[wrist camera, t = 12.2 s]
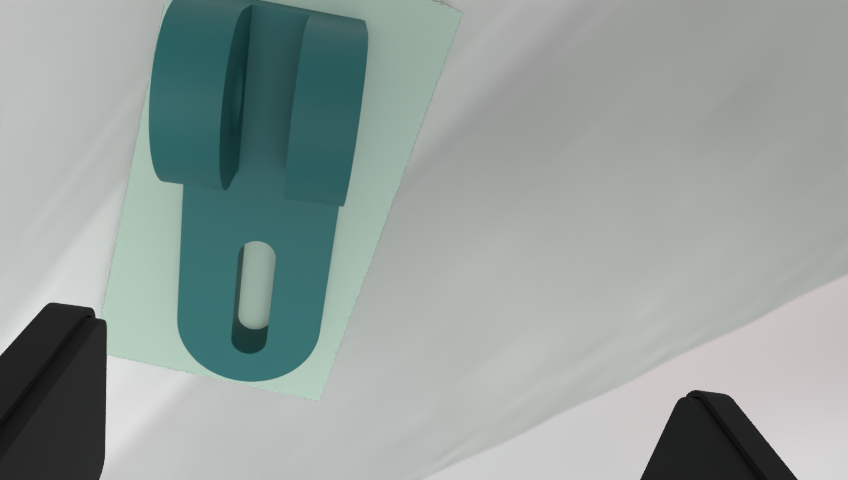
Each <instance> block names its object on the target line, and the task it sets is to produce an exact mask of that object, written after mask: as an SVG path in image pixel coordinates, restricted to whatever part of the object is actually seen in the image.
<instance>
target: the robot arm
mask: <svg viewBox="0 0 848 480" xmlns="http://www.w3.org/2000/svg"><path fill="white" fill-rule="evenodd" d="M106 364H107V323H106V321H105V320H104V319H97V318H95V312H94V310H93V309H92V308H90V307H82V306H75V305H68V304H60V303H49V304H47V305H46V306H45V307H44V308H43V309H42V310H41V311H40V312H39V314H38V315H37V316H36V317H35V318H34V319H33V320H32V321H31V322H30V324H29V325H28V326H27V327H26V328H25V329H24V330H23V331H22V332H21V334H20V335H19V336H18V337H17V338H16V339H15V340H14V341H13V342H12V344H11V345H10V346H9V347H8V348H7V349H6V350H5V351H4V352H3V354H2V355H1V356H0V480H99V478H100V476H101V473H102V469H103V465H104V460H105V423H106ZM640 480H797V478H796V477H795V476H794V475H793V473H792V472H791V471H790V470H789V468H788V467H787V466H786V465H785V463H784V462H783V461H782V460H781V458H780V457H779V456H778V455H777V453H776V452H775V451H774V450H773V448H772V447H771V446H770V445H769V443H768V442H767V441H766V440H765V439H764V437H763V436H762V435H761V434H760V432H759V431H758V430H757V429H756V427H755V426H754V425H753V424H752V422H751V421H750V420H749V419H748V418H747V416H746V415H745V414H744V412H743V411H742V410H741V409H740V407H739V406H738V405H737V404H736V402H735V401H734V400H733V399H732V398H731V397H730V396H728V395H726V394H721V393H714V392H706V391H699V390H694V391H691V392H690V393H688V394H687V396H686V397H683V398H681V399H679V400H678V402H677V403H676V405H675V407H674V409H673V411H672V413H671V416H670V418H669V420H668V422H667V424H666V426H665V429H664V430H663V433H662V435H661V437H660V439H659V441H658V443H657V445H656V448H655V450H654V452H653V454H652V456H651V458H650V460H649V462H648V465H647V467H646V469H645V471H644V473H643V475H642V478H641V479H640Z"/></svg>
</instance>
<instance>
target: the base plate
mask: <svg viewBox="0 0 848 480" xmlns="http://www.w3.org/2000/svg"><path fill="white" fill-rule="evenodd" d="M172 1H173V0H165V3H164V8H163V13H162V17H161V22H160V27H159V32H160V28H161V25H162V22H163V19H164V16H165V14H166V11H167V9H168V7H169V5H170V4H171V2H172ZM263 1H268V2H273V3H278V4H283V5H288V6H293V7H299V8H304V9H309V10H314V11H319V12H324V13H330V14H335V15H340V16H345V17H350V18H355V19H360V20H365V22H366V26H367V30H368V53H367V64H366V73H365V82H364V90H363V98H362V106H361V113H360V120H359V127H358V134H357V141H356V147H355V153H354V160H353V165H352V171H351V177H350V182H349V187H348V192H347V197H346V201H345V204H344V206H343V207H341V206H339V210H338V217H337V224H336V230H335V237H334V243H333V250H332V257H331V263H330V270H329V276H328V283H327V290H326V296H325V303H324V309H323V316H322V323H321V329H320V335H319V339H318V342H317V344H316V346H315V348H314V350H313V352H312V353H311V355H310V356H309V357H308V358H307V360H306V361H305V362H304V363H303V364H301V365H300V366H299V367H298V368H296V369H295V370H293V371H291V372H290V373H288V374H286V375H284V376H281V377H278V378H275V379H271V380H266V381H258V382H246V381H238V380H232V379H229V378H225V377H222V376H220V375H217V374H215V373H213V372H211V371H210V370H208V369H206V368H205V367H203V366H202V365H201V364H199V363H198V362H197V361H196V360H195V359H194V358H193V357H192V356H191V355H190V353H189V352H188V351H187V349H186V348H185V346H184V344H183V342H182V340H181V338H180V335H179V331H178V325H177V309H178V287H179V265H180V244H181V222H182V200H183V184H177V183H169V182H163V181H160V180H159V179H158V177H157V175H156V173H155V171H154V167H153V164H152V159H151V152H150V143H149V96H150V84H151V75H152V67H153V62H152V67H151V72H150V77H149V82H148V87H147V92H146V97H145V101H144V106H143V111H142V116H141V121H140V126H139V131H138V136H137V141H136V146H135V151H134V156H133V161H132V166H131V171H130V176H129V181H128V185H127V190H126V195H125V200H124V205H123V210H122V215H121V220H120V225H119V230H118V235H117V240H116V245H115V250H114V255H113V260H112V264H111V269H110V274H109V279H108V284H107V289H106V294H105V299H104V304H103V309H102V314H101V319H104V320H105V321H106V323H107V355H110V356H114V357H119V358H124V359H128V360H133V361H137V362H142V363H146V364H151V365H156V366H160V367H165V368H169V369H174V370H179V371H183V372H188V373H192V374H197V375H201V376H206V377H211V378H215V379H220V380H224V381H229V382H233V383H238V384H243V385H247V386H252V387H256V388H261V389H265V390H270V391H275V392H279V393H284V394H288V395H293V396H297V397H302V398H307V399H311V400H316V401H319V399H320V396H321V394H322V391H323V388H324V385H325V383H326V380H327V377H328V375H329V372H330V369H331V367H332V364H333V361H334V359H335V356H336V353H337V351H338V348H339V345H340V342H341V340H342V337H343V334H344V332H345V329H346V326H347V324H348V321H349V318H350V316H351V313H352V310H353V308H354V305H355V302H356V300H357V297H358V294H359V291H360V289H361V286H362V283H363V281H364V278H365V275H366V273H367V270H368V267H369V265H370V262H371V259H372V257H373V254H374V251H375V248H376V246H377V243H378V240H379V238H380V235H381V232H382V230H383V227H384V224H385V222H386V219H387V216H388V214H389V211H390V208H391V206H392V203H393V200H394V197H395V195H396V192H397V189H398V187H399V184H400V181H401V179H402V176H403V173H404V171H405V168H406V165H407V163H408V160H409V157H410V154H411V152H412V149H413V146H414V144H415V141H416V138H417V136H418V133H419V130H420V128H421V125H422V122H423V120H424V117H425V114H426V111H427V109H428V106H429V103H430V101H431V98H432V95H433V93H434V90H435V87H436V85H437V82H438V79H439V77H440V74H441V71H442V69H443V66H444V63H445V60H446V58H447V55H448V52H449V50H450V47H451V44H452V42H453V39H454V36H455V34H456V31H457V28H458V26H459V23H460V20H461V17H462V15H463V13H462V12H460V11H458V10H456V9H454V8H452V7H450V6H448V5H445V4H443V3H440V2H438V1H435V0H263ZM159 32H158V36H159ZM157 40H158V37H157ZM156 44H157V42H156ZM155 49H156V47H155ZM154 55H155V52H154ZM153 60H154V57H153ZM275 262H276V255H275V252H274V250H273V249H272V248H271V247H270V246H269V245H268V244H266V243H264V242H260V241H252V242H249V243H246V244H245V245H244V256H243V267H242V278H241V289H240V300H239V311H238V317H239V320H240V322H241V323H242V324H243V325H244V326H245V327H247V328H250V329H261V328H264V327H266V326H267V325H268V324H269V315H270V306H271V298H272V289H273V280H274V271H275Z"/></svg>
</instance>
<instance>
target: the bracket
mask: <svg viewBox="0 0 848 480" xmlns="http://www.w3.org/2000/svg"><path fill="white" fill-rule="evenodd" d="M367 53H368V30H367V26H366V22H365V20H360V19H355V18H350V17H345V16H340V15H335V14H330V13H324V12H319V11H314V10H309V9H304V8H299V7H293V6H288V5H283V4H278V3H273V2H268V1H263V0H173V1H172V2H171V4H170V5H169V7H168V9H167V11H166V14H165V16H164V19H163V22H162V25H161V28H160V32H159V36H158V40H157V44H156V49H155V55H154V60H153V67H152V75H151V84H150V96H149V143H150V152H151V159H152V164H153V167H154V171H155V173H156V175H157V177H158V179H159V180H160V181H163V182H169V183H177V184H183V200H182V222H181V244H180V265H179V287H178V309H177V325H178V331H179V335H180V338H181V340H182V342H183V344H184V346H185V348H186V349H187V351H188V352H189V353H190V355H191V356H192V357H193V358H194V359H195V360H196V361H197V362H198V363H199V364H201V365H202V366H203V367H205V368H206V369H208V370H210V371H211V372H213V373H215V374H217V375H220V376H222V377H225V378H229V379H232V380H238V381H246V382H258V381H266V380H271V379H275V378H278V377H281V376H284V375H286V374H288V373H290V372H291V371H293V370H295V369H296V368H298V367H299V366H300V365H301V364H303V363H304V362H305V361H306V360H307V358H308V357H309V356H310V355H311V353H312V352H313V350H314V348H315V346H316V344H317V342H318V339H319V335H320V329H321V323H322V316H323V309H324V303H325V296H326V290H327V283H328V276H329V270H330V263H331V257H332V250H333V243H334V237H335V230H336V224H337V217H338V210H339V206H341V207H343V206H344V204H345V201H346V197H347V192H348V187H349V182H350V177H351V171H352V165H353V160H354V153H355V147H356V141H357V134H358V127H359V120H360V113H361V106H362V98H363V90H364V82H365V73H366V64H367ZM252 241H260V242H264V243H266V244H268V245H269V246H270V247H271V248H272V249H273V250H274V252H275V255H276V262H275V271H274V280H273V289H272V298H271V306H270V315H269V324H268V325H267V326H266V327H264V328H261V329H250V328H247V327H245V326H244V325H243V324H242V323H241V322H240V320H239V317H238V311H239V300H240V289H241V278H242V267H243V256H244V245H245V244H246V243H249V242H252Z"/></svg>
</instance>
